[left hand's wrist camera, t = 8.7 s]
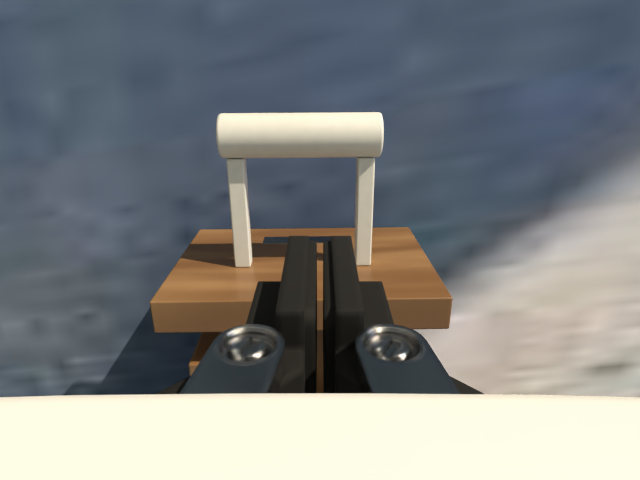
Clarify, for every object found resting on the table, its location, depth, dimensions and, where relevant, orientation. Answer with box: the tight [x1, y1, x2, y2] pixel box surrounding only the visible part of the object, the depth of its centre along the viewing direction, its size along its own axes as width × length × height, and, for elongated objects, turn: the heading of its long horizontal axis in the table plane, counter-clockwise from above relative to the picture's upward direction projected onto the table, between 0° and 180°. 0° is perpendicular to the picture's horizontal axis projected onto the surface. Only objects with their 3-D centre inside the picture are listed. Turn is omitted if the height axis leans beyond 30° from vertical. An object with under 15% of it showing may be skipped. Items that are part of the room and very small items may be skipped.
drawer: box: [150, 112, 452, 393], centre depth 20 cm, size 21×10×7 cm, turn 0°
